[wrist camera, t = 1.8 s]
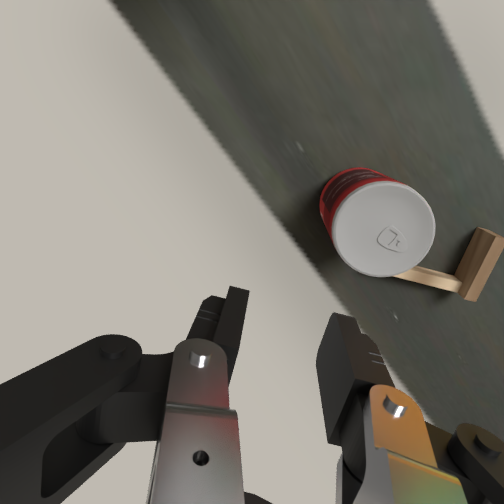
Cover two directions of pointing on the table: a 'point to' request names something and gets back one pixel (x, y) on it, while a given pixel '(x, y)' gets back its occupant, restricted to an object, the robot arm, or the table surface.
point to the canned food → (376, 222)
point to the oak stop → (464, 267)
